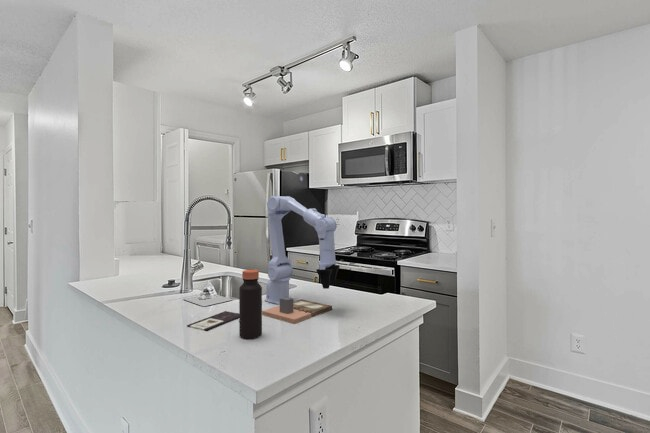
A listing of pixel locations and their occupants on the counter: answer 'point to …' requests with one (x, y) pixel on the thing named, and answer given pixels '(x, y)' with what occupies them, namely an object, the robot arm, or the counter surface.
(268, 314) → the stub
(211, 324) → the chocolate bar
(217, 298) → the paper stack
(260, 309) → the bottle
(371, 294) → the counter surface
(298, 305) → the board
